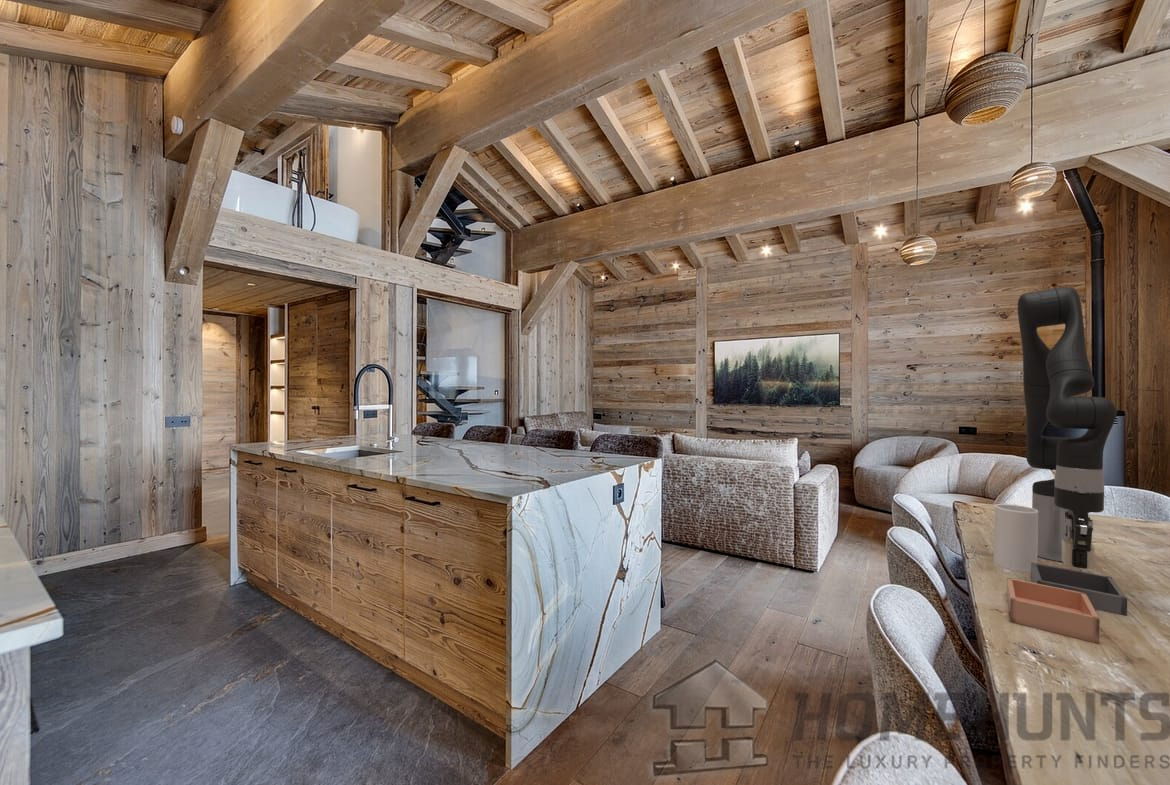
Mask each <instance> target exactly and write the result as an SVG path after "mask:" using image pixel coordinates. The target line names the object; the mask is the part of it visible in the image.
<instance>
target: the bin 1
mask: <svg viewBox="0 0 1170 785" xmlns="http://www.w3.org/2000/svg"><path fill="white" fill-rule="evenodd" d="M1006 598H1007V604H1008V616H1009V622H1011V623H1013V624H1019V625H1023V626H1027V627H1031V628H1035V629H1038V630H1039V629H1040V630H1043V631H1047V632H1051V633H1056V634H1059V635H1064V636H1067V637H1072V638H1076V639H1080V640H1083V641H1088V642H1093V643H1097V644H1100V625H1101V624H1100V622H1101V620H1100V617H1099V614H1098V613H1097V611H1096V609H1094V608H1093V606H1092V604H1091V602H1090V600H1089V599H1088V597H1087V595H1086V593H1082V592H1077V591H1072V590H1067V589H1062V588H1057V587H1052V586H1047V585H1042V584H1037V583H1033V582H1032V581H1027V580H1023V579H1016V578H1012V577H1006Z"/></svg>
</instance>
